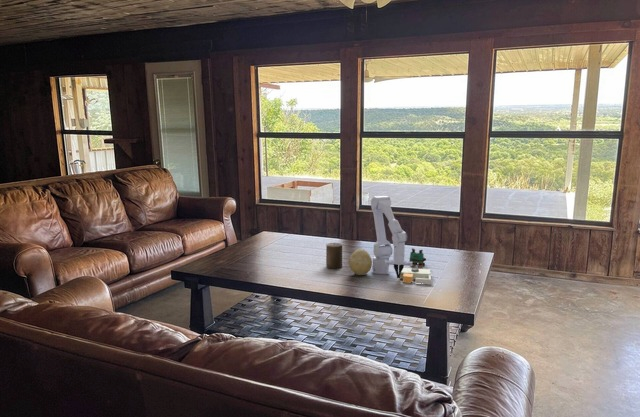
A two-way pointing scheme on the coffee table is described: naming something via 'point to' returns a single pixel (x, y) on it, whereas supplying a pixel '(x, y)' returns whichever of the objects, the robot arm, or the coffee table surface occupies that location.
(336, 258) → the pillar candle
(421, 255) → the binoculars
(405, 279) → the chute block
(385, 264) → the robot arm
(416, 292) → the coffee table surface
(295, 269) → the coffee table surface
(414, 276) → the white notched block
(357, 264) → the fossilized egg
